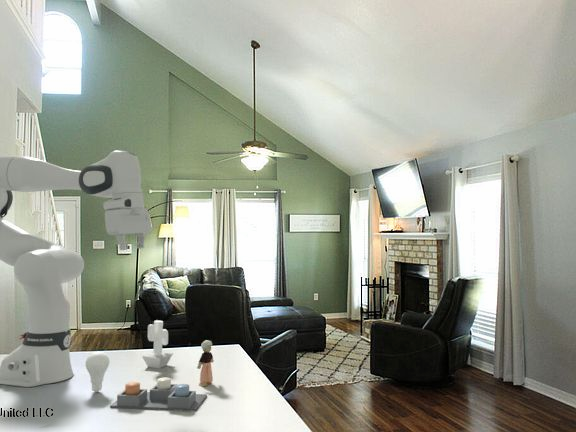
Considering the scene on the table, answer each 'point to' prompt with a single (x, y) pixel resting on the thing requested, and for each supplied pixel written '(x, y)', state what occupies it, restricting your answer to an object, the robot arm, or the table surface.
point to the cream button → (164, 383)
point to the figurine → (157, 346)
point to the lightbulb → (97, 369)
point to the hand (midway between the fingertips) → (132, 249)
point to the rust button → (132, 388)
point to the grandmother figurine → (206, 364)
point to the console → (159, 400)
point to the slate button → (182, 390)
